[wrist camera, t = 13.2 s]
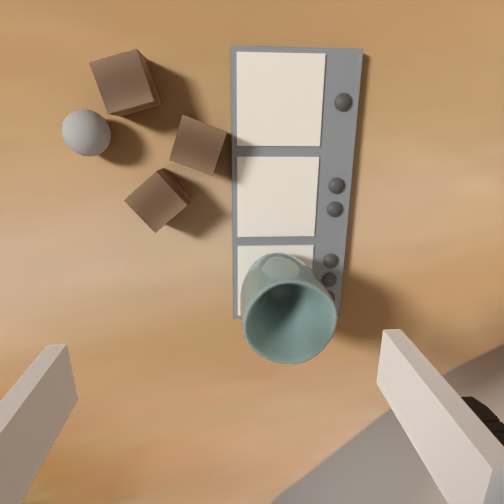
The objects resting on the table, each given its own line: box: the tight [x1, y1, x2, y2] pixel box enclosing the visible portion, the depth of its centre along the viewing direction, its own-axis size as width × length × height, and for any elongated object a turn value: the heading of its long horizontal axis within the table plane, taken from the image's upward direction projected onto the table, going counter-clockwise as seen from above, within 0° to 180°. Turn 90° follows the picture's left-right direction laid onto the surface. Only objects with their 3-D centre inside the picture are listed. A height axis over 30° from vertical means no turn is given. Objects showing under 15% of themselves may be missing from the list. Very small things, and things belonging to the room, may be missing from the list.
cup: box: [240, 252, 338, 364], centre depth 34 cm, size 8×8×10 cm
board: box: [231, 46, 363, 319], centre depth 36 cm, size 27×12×1 cm, turn 0°
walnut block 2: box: [124, 168, 191, 233], centre depth 34 cm, size 4×4×4 cm
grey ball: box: [62, 109, 111, 156], centre depth 32 cm, size 4×4×4 cm
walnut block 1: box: [90, 49, 162, 117], centre depth 31 cm, size 4×4×4 cm
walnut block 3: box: [169, 115, 227, 176], centre depth 33 cm, size 4×4×4 cm
